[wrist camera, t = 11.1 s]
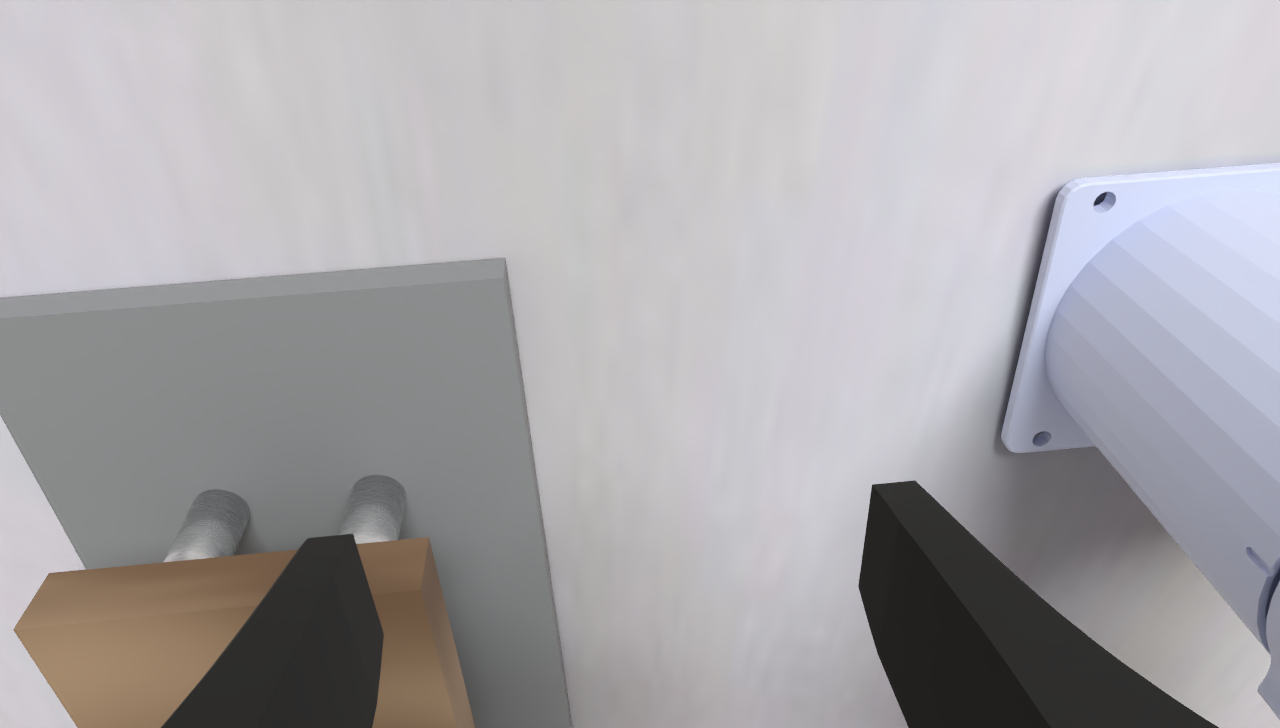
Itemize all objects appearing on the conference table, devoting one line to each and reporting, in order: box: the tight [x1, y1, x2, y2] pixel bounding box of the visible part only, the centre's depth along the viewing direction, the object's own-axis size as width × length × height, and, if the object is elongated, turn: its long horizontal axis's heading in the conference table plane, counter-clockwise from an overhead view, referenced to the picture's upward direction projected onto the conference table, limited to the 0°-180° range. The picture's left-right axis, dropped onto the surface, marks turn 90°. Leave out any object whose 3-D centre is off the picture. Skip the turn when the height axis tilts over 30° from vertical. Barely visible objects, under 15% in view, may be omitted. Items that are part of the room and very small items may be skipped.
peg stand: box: [0, 258, 572, 728], centre depth 24 cm, size 12×22×4 cm, turn 3°
